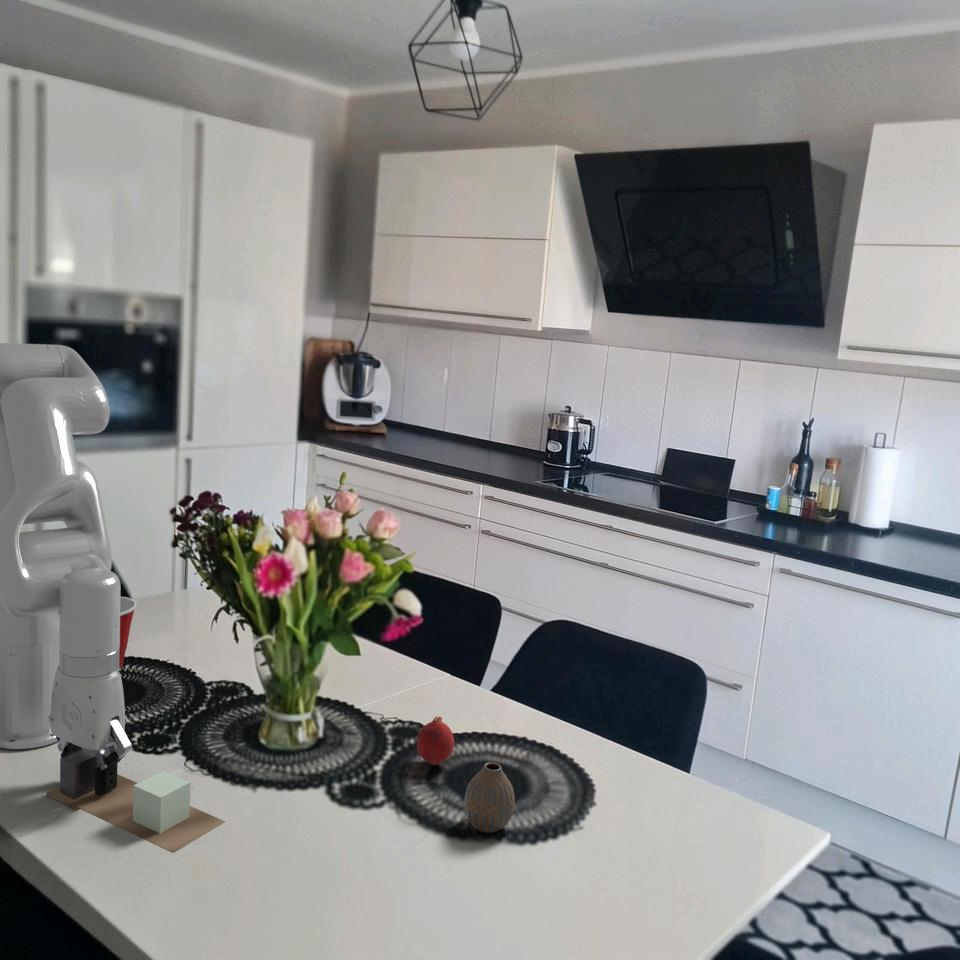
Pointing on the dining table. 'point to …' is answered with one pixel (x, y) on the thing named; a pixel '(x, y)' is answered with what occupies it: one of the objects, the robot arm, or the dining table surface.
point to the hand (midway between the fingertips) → (88, 782)
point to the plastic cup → (125, 624)
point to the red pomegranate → (435, 741)
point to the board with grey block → (121, 803)
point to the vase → (489, 799)
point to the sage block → (161, 801)
